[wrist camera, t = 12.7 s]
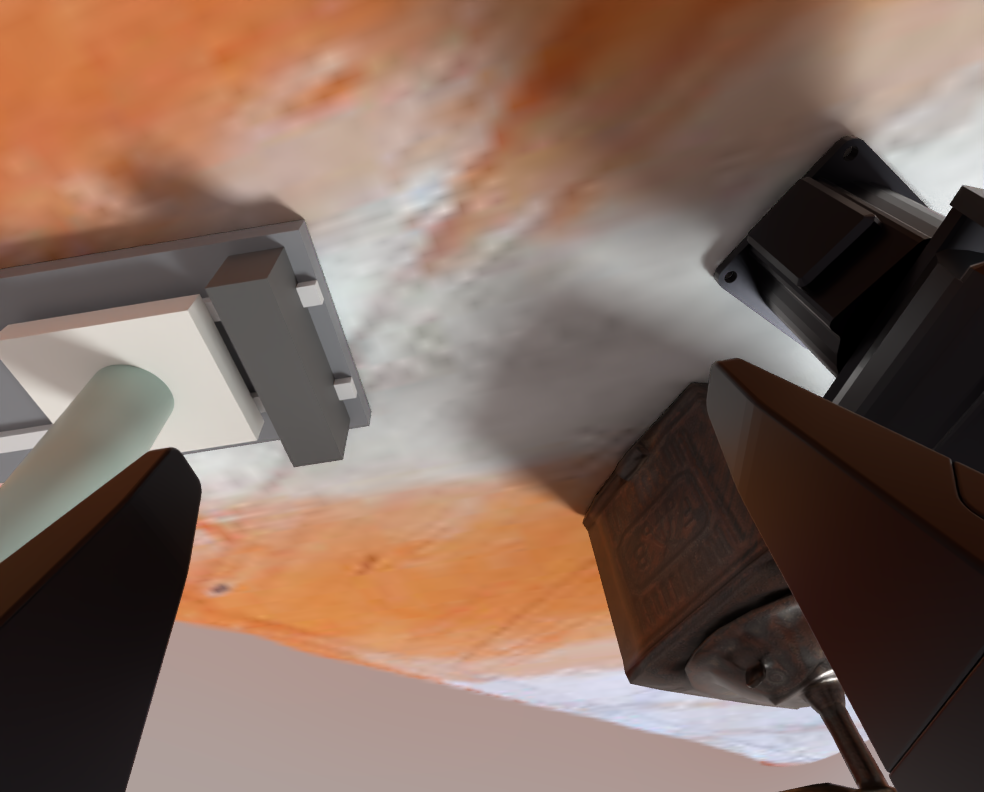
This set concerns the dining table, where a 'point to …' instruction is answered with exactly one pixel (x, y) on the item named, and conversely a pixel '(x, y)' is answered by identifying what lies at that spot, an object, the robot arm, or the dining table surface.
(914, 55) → the dining table surface
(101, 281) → the rail track
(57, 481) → the carriage
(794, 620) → the manual coffee grinder
